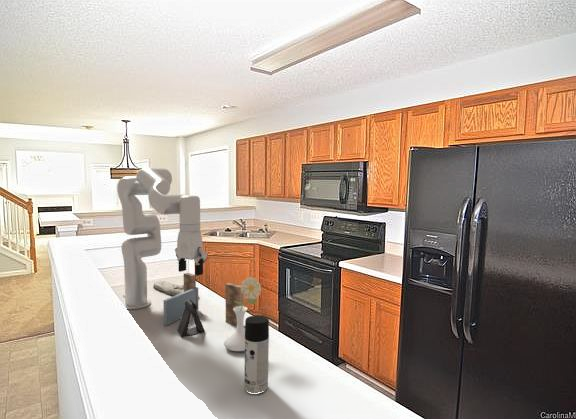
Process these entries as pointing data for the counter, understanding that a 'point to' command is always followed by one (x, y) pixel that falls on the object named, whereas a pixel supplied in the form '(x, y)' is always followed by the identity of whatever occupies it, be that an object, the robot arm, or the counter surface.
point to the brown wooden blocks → (231, 294)
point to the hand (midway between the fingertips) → (190, 272)
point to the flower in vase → (242, 314)
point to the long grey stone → (169, 288)
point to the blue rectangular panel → (178, 305)
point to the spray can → (256, 353)
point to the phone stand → (185, 321)
